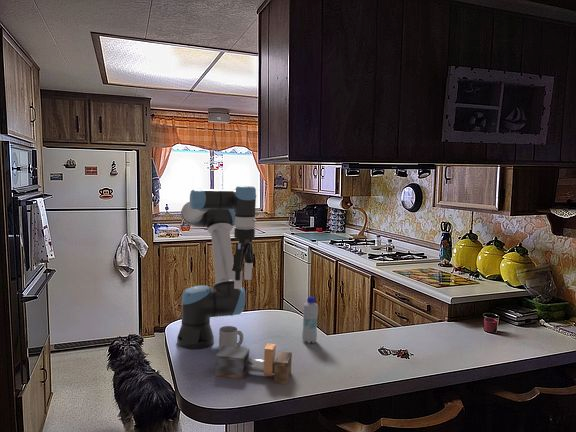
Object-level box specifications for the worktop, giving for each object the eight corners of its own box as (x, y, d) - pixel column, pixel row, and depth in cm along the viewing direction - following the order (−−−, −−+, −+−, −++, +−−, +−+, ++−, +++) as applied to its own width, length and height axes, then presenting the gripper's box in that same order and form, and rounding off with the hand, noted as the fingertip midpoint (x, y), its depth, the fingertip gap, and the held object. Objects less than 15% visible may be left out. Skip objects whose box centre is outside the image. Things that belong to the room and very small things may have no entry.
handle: (235, 371, 154) (235, 345, 153) (238, 366, 159) (239, 340, 158) (284, 377, 152) (285, 350, 150) (286, 371, 156) (287, 345, 155)
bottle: (317, 339, 191) (319, 295, 189) (316, 345, 184) (318, 299, 182) (302, 338, 191) (303, 294, 189) (301, 344, 185) (302, 298, 183)
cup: (217, 347, 178) (217, 327, 177) (241, 345, 181) (241, 324, 180) (220, 355, 171) (221, 333, 170) (245, 352, 174) (246, 330, 173)
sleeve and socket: (215, 375, 154) (215, 355, 153) (223, 364, 163) (223, 345, 162) (286, 384, 149) (287, 363, 149) (291, 372, 158) (291, 352, 157)
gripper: (245, 233, 147) (243, 293, 149) (262, 224, 171) (260, 276, 173) (224, 231, 148) (223, 292, 150) (244, 223, 172) (242, 275, 175)
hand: (243, 284), depth 162 cm, fingers open, 13 cm apart
